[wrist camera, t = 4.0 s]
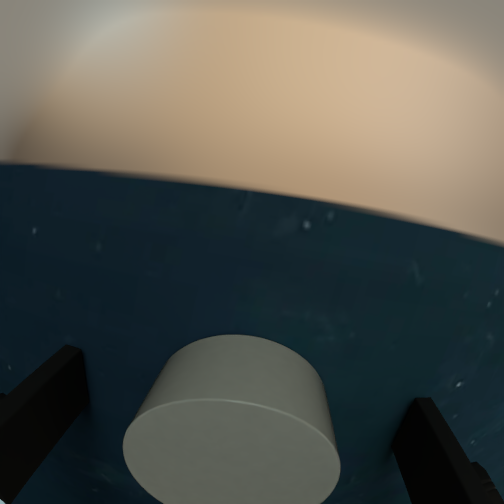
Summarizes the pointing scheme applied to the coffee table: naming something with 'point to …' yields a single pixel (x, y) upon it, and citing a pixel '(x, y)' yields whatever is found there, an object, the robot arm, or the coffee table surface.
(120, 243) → the coffee table surface
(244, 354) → the gray cylinder
